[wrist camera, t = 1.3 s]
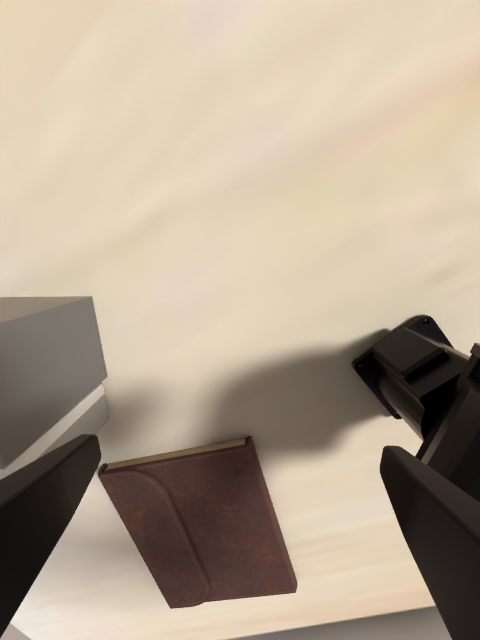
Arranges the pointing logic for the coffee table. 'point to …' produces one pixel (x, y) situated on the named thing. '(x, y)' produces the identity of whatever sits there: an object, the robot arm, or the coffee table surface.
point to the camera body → (44, 364)
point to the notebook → (203, 523)
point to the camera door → (64, 429)
